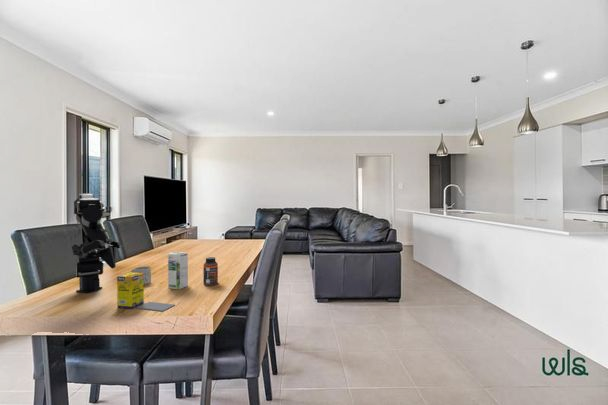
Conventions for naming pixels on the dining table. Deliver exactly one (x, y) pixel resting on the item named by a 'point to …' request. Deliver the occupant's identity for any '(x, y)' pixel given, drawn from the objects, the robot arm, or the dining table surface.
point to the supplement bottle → (210, 271)
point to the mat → (155, 306)
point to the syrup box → (177, 270)
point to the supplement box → (130, 290)
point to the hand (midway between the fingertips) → (113, 267)
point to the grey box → (144, 273)
